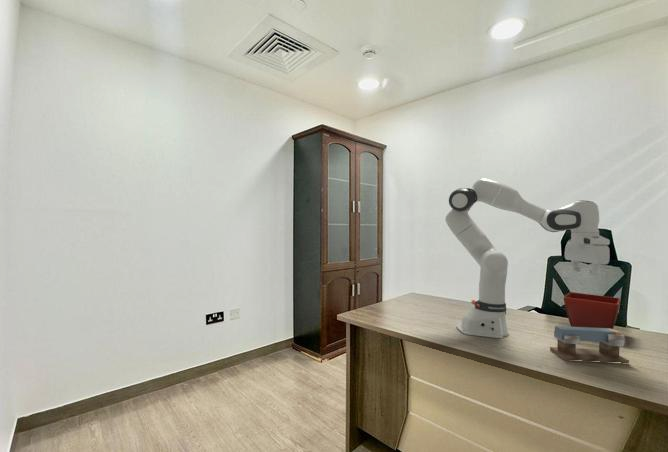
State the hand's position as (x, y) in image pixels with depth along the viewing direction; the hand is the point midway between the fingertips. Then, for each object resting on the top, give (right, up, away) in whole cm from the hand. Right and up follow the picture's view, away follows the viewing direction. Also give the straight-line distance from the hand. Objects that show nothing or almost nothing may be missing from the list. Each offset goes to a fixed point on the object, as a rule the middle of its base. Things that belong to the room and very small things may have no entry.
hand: (584, 273), depth 121 cm
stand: (-6, -31, -9) cm, 33 cm away
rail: (-7, -24, -8) cm, 26 cm away
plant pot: (+20, -32, +20) cm, 42 cm away
